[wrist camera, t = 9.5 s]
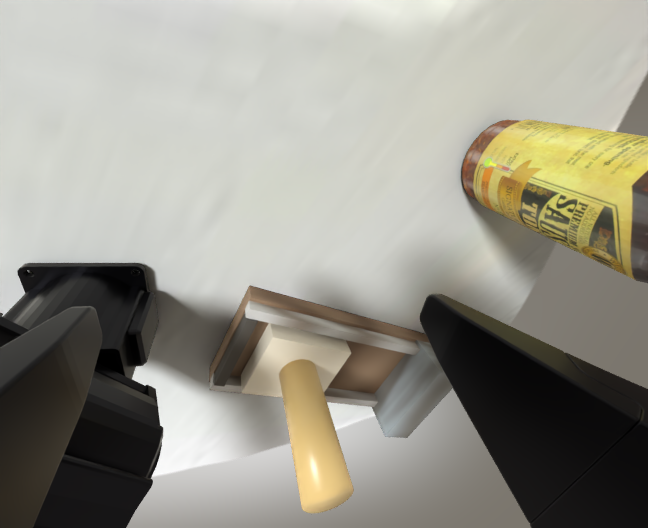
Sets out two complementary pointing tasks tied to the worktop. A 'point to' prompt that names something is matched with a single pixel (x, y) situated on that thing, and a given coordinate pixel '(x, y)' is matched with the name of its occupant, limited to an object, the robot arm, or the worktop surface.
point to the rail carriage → (304, 407)
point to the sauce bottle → (567, 187)
